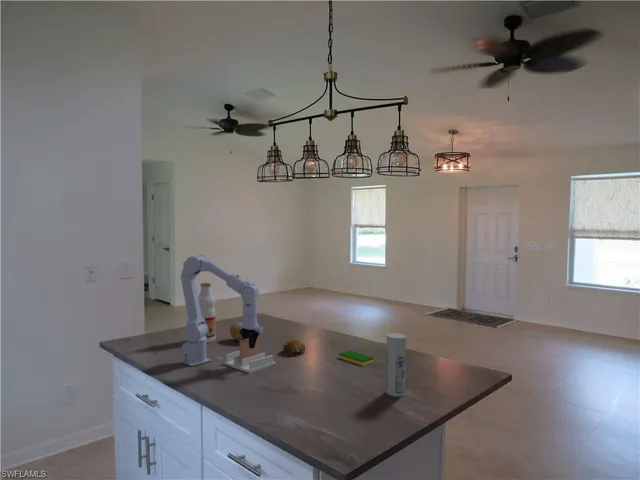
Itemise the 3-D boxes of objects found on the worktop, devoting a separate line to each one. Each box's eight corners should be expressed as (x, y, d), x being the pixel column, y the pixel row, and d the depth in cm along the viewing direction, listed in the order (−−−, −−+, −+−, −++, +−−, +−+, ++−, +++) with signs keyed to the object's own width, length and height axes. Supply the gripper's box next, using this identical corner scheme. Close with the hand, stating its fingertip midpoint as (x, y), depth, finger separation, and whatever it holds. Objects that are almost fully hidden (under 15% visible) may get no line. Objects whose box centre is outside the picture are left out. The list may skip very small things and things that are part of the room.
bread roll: (305, 358, 199) (306, 341, 202) (303, 355, 189) (304, 337, 192) (284, 358, 200) (285, 340, 203) (280, 354, 190) (282, 336, 193)
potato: (243, 346, 205) (243, 329, 205) (224, 340, 214) (224, 324, 214) (259, 341, 212) (259, 325, 212) (240, 336, 222) (240, 320, 221)
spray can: (391, 387, 156) (392, 332, 155) (408, 392, 152) (409, 335, 151) (382, 393, 151) (383, 335, 150) (399, 398, 147) (400, 339, 146)
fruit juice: (219, 338, 217) (219, 282, 215) (208, 344, 208) (208, 285, 207) (203, 337, 220) (203, 281, 219) (191, 341, 211) (191, 284, 210)
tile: (243, 361, 175) (243, 341, 175) (239, 360, 177) (239, 340, 176) (258, 356, 181) (258, 337, 181) (254, 355, 183) (254, 336, 183)
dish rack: (249, 373, 169) (249, 363, 169) (223, 364, 179) (223, 354, 179) (275, 364, 180) (275, 354, 179) (249, 356, 190) (250, 347, 190)
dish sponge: (362, 366, 179) (362, 361, 179) (338, 358, 189) (338, 353, 189) (374, 363, 184) (374, 357, 184) (349, 355, 194) (349, 350, 194)
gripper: (269, 315, 177) (269, 348, 177) (245, 310, 186) (245, 342, 187) (256, 318, 171) (255, 352, 172) (232, 313, 181) (232, 345, 181)
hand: (249, 347), depth 179 cm, fingers closed on tile, 2 cm apart
